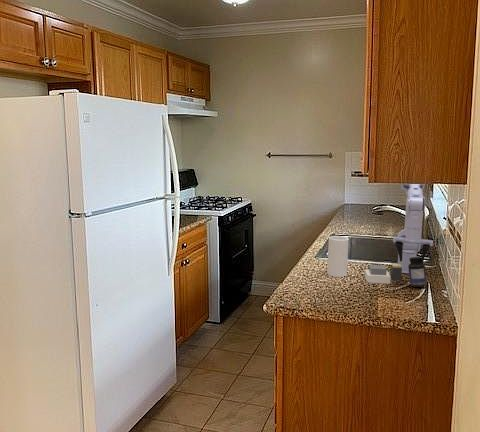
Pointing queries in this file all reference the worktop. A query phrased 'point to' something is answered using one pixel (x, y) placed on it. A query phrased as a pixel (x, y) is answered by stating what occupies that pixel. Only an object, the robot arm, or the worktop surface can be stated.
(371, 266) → the grey square block
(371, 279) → the socket
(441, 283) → the worktop surface
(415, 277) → the pill bottle
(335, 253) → the cup
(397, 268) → the plug
